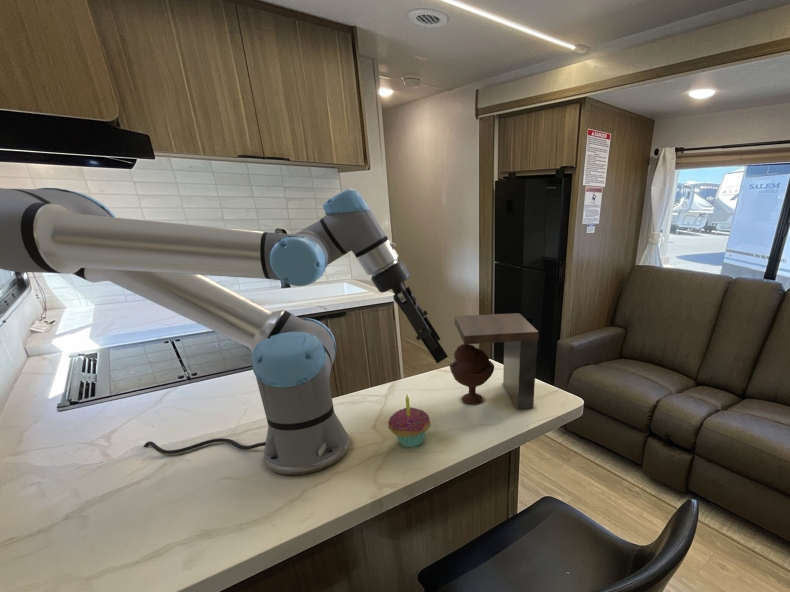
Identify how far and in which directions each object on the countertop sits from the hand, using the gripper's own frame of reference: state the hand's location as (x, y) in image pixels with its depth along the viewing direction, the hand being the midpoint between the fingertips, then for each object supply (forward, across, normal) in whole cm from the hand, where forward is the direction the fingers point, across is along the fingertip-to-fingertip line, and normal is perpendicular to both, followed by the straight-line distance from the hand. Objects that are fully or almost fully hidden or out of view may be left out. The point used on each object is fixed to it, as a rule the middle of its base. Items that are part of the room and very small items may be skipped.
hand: (439, 350), depth 92 cm
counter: (+20, +4, -5) cm, 21 cm away
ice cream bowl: (+17, +4, 0) cm, 18 cm away
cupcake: (+10, -12, +15) cm, 22 cm away
